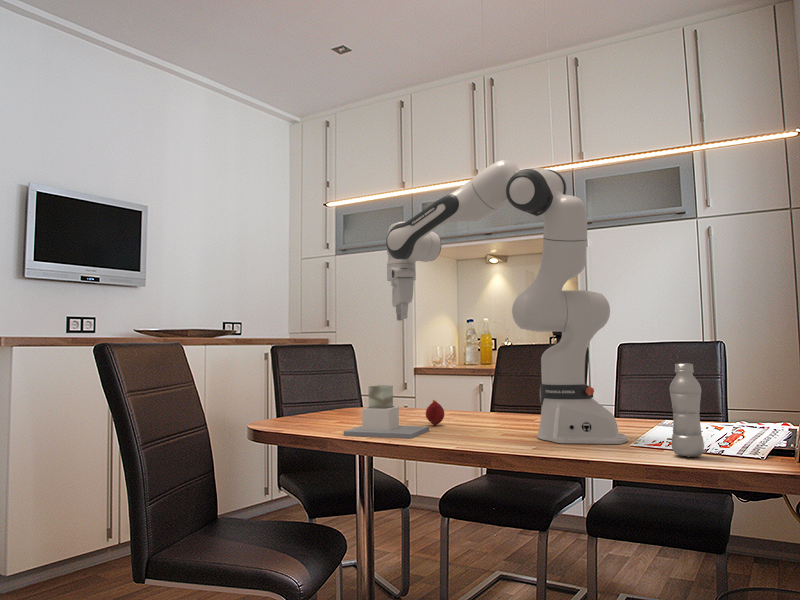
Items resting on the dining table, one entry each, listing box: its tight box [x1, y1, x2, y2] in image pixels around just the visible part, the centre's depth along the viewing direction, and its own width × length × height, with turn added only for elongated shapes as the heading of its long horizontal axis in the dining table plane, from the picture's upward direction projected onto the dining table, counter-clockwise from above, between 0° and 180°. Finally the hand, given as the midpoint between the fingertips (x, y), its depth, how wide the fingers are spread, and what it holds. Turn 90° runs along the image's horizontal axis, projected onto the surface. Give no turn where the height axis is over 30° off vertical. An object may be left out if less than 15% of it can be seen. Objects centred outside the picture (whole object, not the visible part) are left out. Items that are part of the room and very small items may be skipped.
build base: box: [343, 405, 430, 439], centre depth 177 cm, size 20×16×7 cm
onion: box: [425, 399, 445, 427], centre depth 193 cm, size 6×6×8 cm
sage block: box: [368, 384, 394, 408], centre depth 179 cm, size 5×5×6 cm
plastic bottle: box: [669, 363, 705, 458], centre depth 135 cm, size 6×7×20 cm
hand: (401, 319), depth 190 cm, fingers open, 8 cm apart
